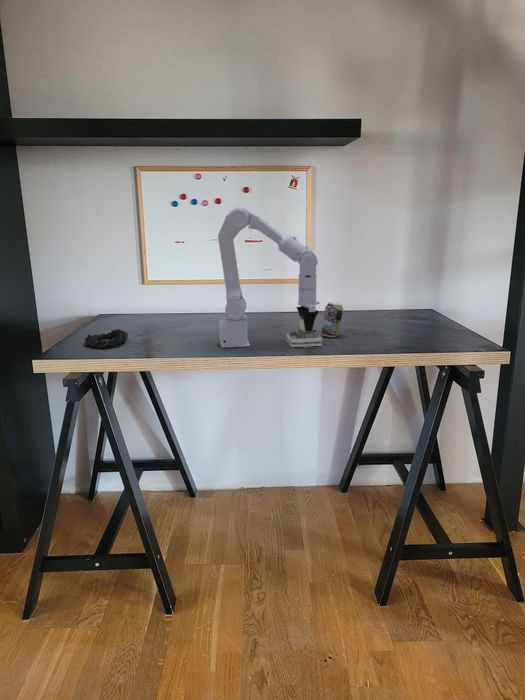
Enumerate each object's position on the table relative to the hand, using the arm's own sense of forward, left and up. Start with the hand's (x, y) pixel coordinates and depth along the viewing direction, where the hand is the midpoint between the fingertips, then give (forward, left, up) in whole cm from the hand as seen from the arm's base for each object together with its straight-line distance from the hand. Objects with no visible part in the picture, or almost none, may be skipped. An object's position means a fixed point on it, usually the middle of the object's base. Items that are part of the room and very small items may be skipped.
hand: (307, 329), depth 170 cm
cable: (-67, +14, -6) cm, 69 cm away
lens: (0, 0, -2) cm, 2 cm away
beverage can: (+11, +9, -5) cm, 15 cm away
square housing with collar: (-1, 0, -5) cm, 5 cm away
